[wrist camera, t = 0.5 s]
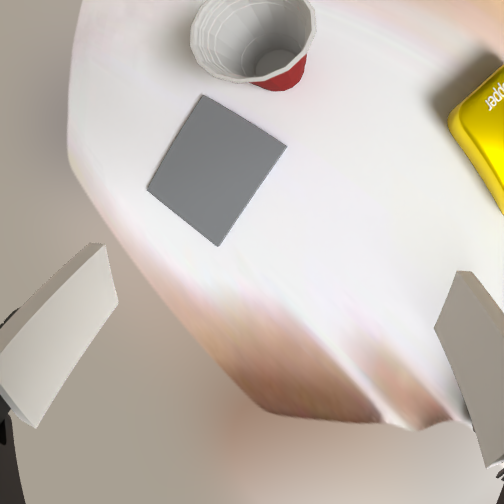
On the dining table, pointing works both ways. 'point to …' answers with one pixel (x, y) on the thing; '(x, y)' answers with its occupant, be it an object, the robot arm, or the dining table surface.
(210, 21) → the plastic cup
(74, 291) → the robot arm
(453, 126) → the element tile
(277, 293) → the dining table surface
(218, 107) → the card
